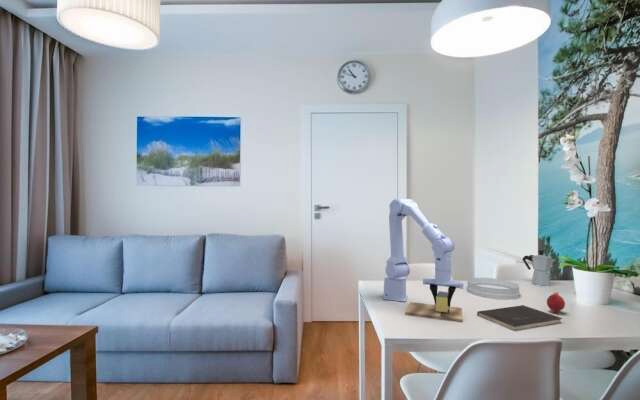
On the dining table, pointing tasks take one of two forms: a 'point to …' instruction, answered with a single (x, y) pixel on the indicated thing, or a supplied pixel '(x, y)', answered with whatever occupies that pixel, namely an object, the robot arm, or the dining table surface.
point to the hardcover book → (519, 317)
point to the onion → (555, 302)
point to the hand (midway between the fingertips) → (442, 305)
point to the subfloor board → (434, 312)
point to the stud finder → (442, 302)
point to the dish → (493, 288)
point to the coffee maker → (540, 268)
